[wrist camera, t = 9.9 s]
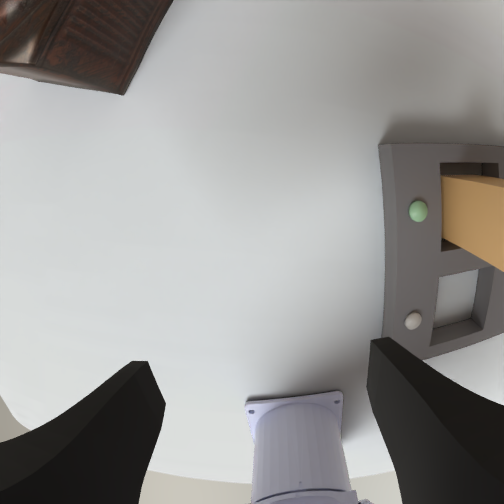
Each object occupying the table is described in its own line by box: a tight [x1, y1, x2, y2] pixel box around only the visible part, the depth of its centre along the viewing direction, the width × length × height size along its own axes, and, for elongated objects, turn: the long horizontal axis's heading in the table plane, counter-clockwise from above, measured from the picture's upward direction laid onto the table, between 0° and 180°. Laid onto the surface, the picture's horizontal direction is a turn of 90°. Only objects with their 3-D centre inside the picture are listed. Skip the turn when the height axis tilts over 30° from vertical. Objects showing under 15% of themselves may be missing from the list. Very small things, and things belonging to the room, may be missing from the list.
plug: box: [440, 174, 504, 272], centre depth 13 cm, size 4×4×9 cm
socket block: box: [378, 143, 504, 360], centre depth 17 cm, size 15×12×2 cm
